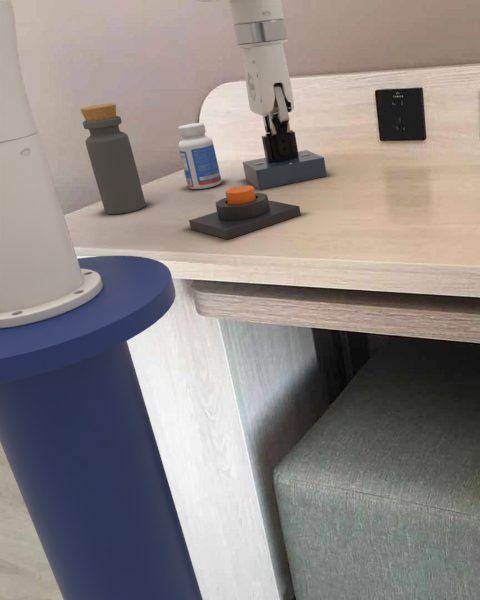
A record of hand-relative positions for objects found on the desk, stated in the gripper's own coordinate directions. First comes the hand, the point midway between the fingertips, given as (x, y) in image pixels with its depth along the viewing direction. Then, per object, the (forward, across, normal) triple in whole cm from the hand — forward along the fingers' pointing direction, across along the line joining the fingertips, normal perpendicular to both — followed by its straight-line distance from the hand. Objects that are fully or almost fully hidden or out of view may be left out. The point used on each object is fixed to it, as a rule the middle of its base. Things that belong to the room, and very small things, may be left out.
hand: (282, 157), depth 108 cm
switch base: (+3, +21, -11) cm, 24 cm away
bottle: (+4, -1, -25) cm, 25 cm away
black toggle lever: (0, 0, 0) cm, 0 cm away
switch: (+1, +21, -11) cm, 24 cm away
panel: (+3, 0, 0) cm, 3 cm away
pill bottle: (+4, -6, -12) cm, 14 cm away
